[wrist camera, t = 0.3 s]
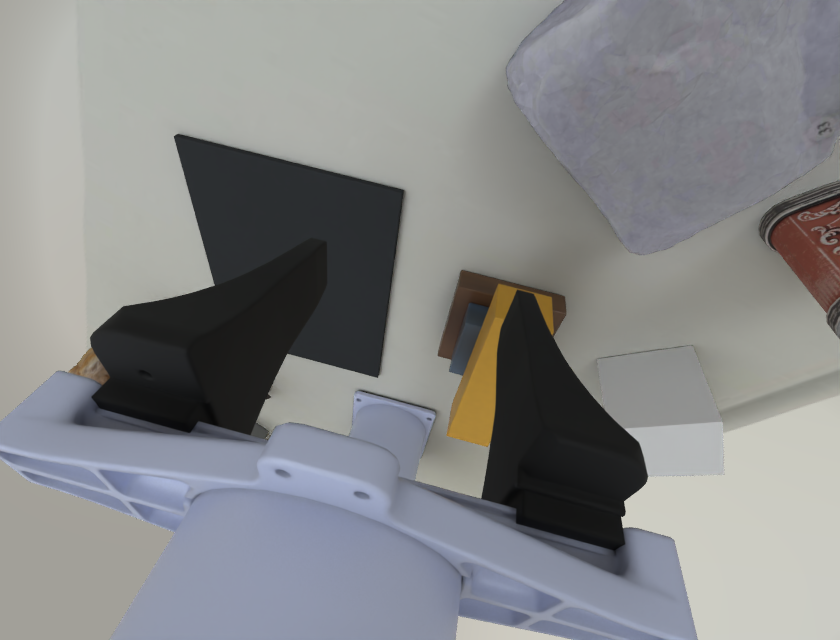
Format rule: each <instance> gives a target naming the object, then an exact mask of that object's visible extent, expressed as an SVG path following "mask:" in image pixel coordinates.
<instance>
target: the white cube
mask: <svg viewBox="0 0 840 640" xmlns="http://www.w3.org/2000/svg"><path fill="white" fill-rule="evenodd" d="M597 364H598V371H599V378H600V384H601V391H602V398H603V404H604V410H605V411H606V412H607V413H608V414H609V415H610V416H611V417H612V418H613V419H614V420H615V421H616V422H617V423H618V424H619V425H620V426H621V427H623V428H624V429H625V430H626V431H627V432H628V433H629V434H630V435H631V436H633V437H634V438H635V439H636V440H637V441H638V442H639V443H640V446H641V449H642V453H643V456H644V460H645V464H646V469H647V474H648V477H649V476H694V475H724V449H723V448H724V447H723V421H722V419H721V416H720V413H719V411H718V408H717V406H716V403H715V401H714V398H713V396H712V393H711V391H710V388H709V386H708V383H707V381H706V378H705V375H704V373H703V370H702V368H701V365H700V363H699V360H698V358H697V355H696V353H695V350H694V348H693V345H690V346H684V347H677V348H670V349H663V350H656V351H649V352H642V353H635V354H628V355H621V356H614V357H607V358H600V359H597Z"/></svg>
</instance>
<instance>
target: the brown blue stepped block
mask: <svg viewBox="0 0 840 640" xmlns="http://www.w3.org/2000/svg"><path fill="white" fill-rule="evenodd" d="M498 284H502V285H506V286H510V287H514V288H518V289H522V290H526V291H529V292H533V293H537V294H541V295H545V296H549V297H552V310H553V329H554V333H553V335H552V336H554V335H555V333H556V331H557V330H558V328H559V326H560V324H561V323H562V321H563V319H564V318H565V316H566V302H565V296H562V295H558V294H554V293H550V292H546V291H542V290H538V289H534V288H530V287H526V286H522V285H518V284H515V283H511V282H507V281H503V280H499V279H495V278H491V277H487V276H483V275H479V274H475V273H471V272H467V271H463V270H462V271H461V273H460V276H459V280H458V283H457V286H456V290H455V293H454V297H453V300H452V304H451V307H450V311H449V314H448V318H447V321H446V324H445V328H444V331H443V335H442V338H441V342H440V347H439V351H438V356H439V357H443V358H447V359H451V364H450V369H449V372H452V373H455V374H459V375H463V374H464V372H465V369H466V366H467V364H468V361H469V359H470V356H471V354H472V351H473V348H474V346H475V343H476V341H477V338H478V335H479V333H480V330H481V328H482V325H483V322H484V320H485V317H486V315H487V312H488V309H489V307H490V304H491V302H492V299H493V296H494V294H495V291H496V289H497V286H498Z"/></svg>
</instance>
